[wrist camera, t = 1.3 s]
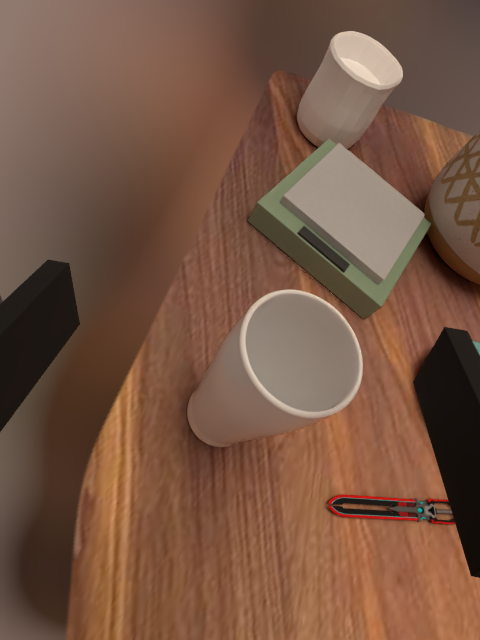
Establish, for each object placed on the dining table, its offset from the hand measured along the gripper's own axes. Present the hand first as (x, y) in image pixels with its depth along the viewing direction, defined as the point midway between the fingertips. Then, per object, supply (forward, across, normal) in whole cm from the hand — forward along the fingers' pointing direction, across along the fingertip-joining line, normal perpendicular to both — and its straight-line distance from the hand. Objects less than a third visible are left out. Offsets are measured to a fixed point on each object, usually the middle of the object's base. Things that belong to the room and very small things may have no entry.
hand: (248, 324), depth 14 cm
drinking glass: (+9, -1, -17) cm, 19 cm away
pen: (+7, +15, -23) cm, 28 cm away
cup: (+48, +5, -2) cm, 48 cm away
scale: (+32, +8, -10) cm, 35 cm away
